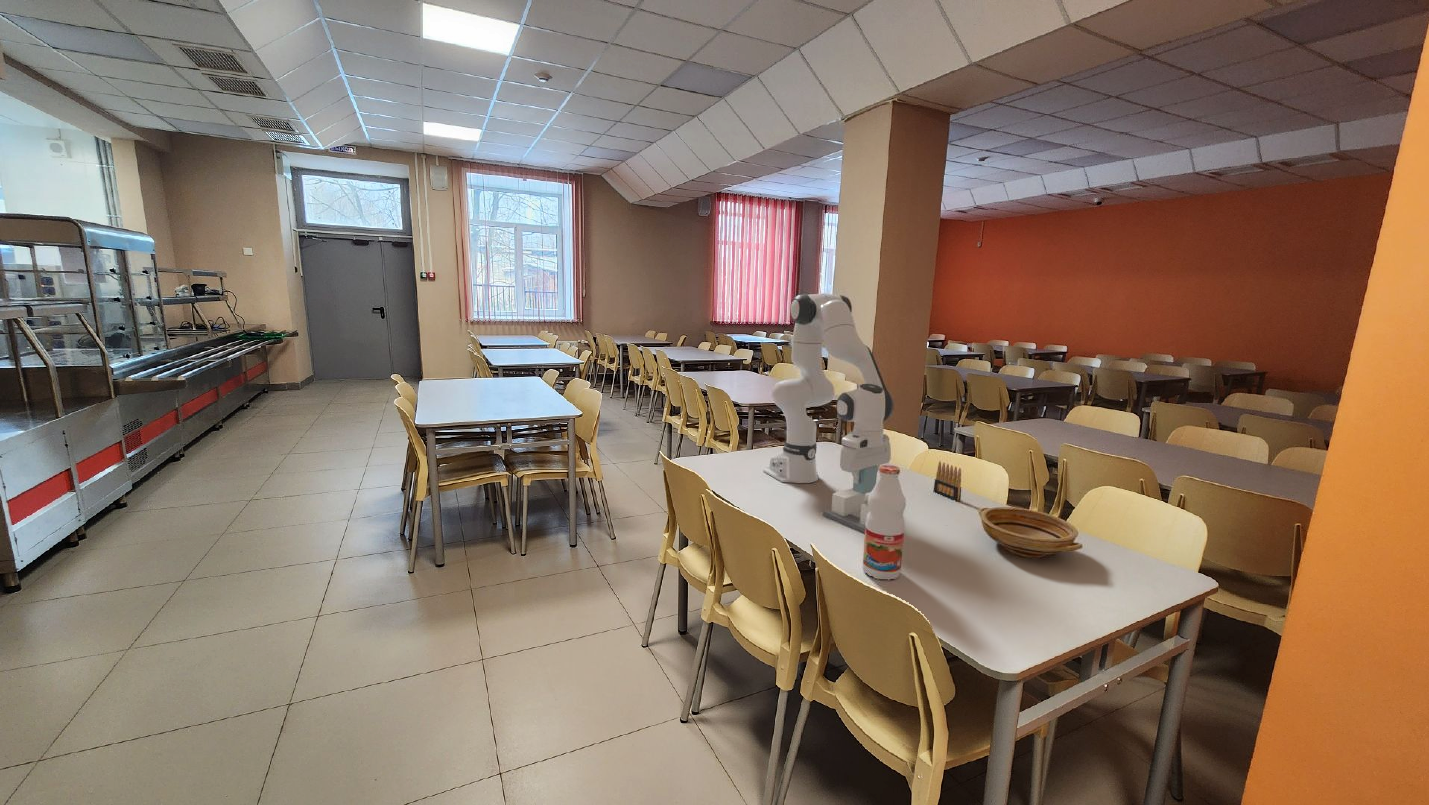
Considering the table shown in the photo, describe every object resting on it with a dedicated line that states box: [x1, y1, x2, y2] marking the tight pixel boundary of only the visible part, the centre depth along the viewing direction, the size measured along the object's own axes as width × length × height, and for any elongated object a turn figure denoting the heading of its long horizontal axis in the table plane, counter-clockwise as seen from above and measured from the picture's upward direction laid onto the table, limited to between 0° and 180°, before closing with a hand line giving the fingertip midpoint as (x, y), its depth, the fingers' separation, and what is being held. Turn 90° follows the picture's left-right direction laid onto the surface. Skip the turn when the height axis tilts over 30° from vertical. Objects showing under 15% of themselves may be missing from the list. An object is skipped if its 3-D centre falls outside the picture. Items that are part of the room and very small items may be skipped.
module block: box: [852, 466, 878, 495], centre depth 175 cm, size 4×6×8 cm, turn 126°
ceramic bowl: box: [978, 506, 1083, 558], centre depth 159 cm, size 30×24×8 cm
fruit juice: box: [862, 464, 907, 581], centre depth 141 cm, size 9×9×28 cm
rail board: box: [822, 487, 869, 534], centre depth 177 cm, size 20×14×8 cm
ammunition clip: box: [933, 460, 962, 503], centre depth 200 cm, size 11×2×12 cm, turn 25°
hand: (864, 480), depth 175 cm, fingers closed on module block, 6 cm apart
